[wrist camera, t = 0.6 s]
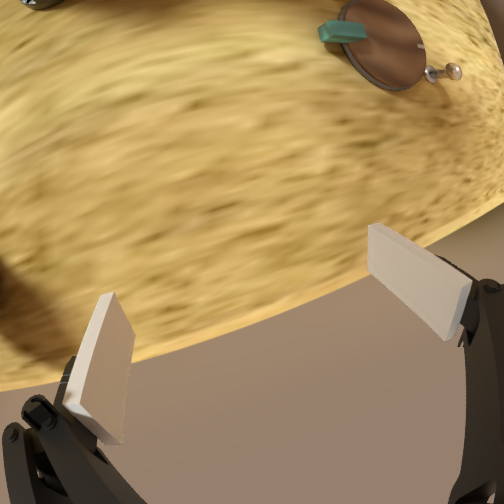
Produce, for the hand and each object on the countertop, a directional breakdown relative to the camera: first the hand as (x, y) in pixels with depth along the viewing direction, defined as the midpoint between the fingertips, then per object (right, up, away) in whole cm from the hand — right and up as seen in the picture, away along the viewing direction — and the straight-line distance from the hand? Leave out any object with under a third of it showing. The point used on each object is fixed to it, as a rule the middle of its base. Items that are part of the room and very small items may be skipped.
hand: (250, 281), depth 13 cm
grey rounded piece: (+33, +35, +22) cm, 53 cm away
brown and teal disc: (+20, +35, +18) cm, 44 cm away
